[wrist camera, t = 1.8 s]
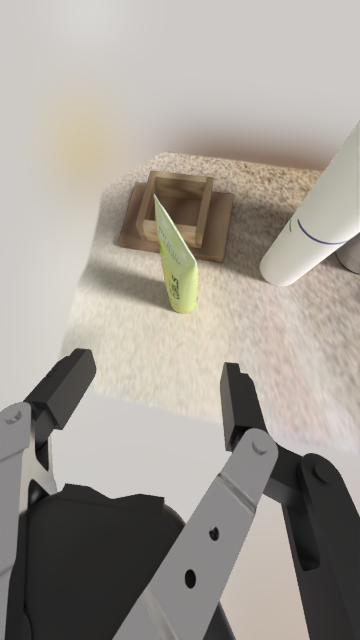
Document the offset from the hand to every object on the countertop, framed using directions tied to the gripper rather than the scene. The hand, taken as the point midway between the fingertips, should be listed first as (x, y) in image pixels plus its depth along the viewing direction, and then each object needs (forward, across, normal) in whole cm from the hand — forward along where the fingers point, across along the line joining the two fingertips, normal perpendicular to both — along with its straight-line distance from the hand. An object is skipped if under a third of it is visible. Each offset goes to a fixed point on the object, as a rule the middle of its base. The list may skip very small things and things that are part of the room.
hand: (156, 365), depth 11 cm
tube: (+23, 0, +7) cm, 24 cm away
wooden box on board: (+34, +3, -4) cm, 35 cm away
